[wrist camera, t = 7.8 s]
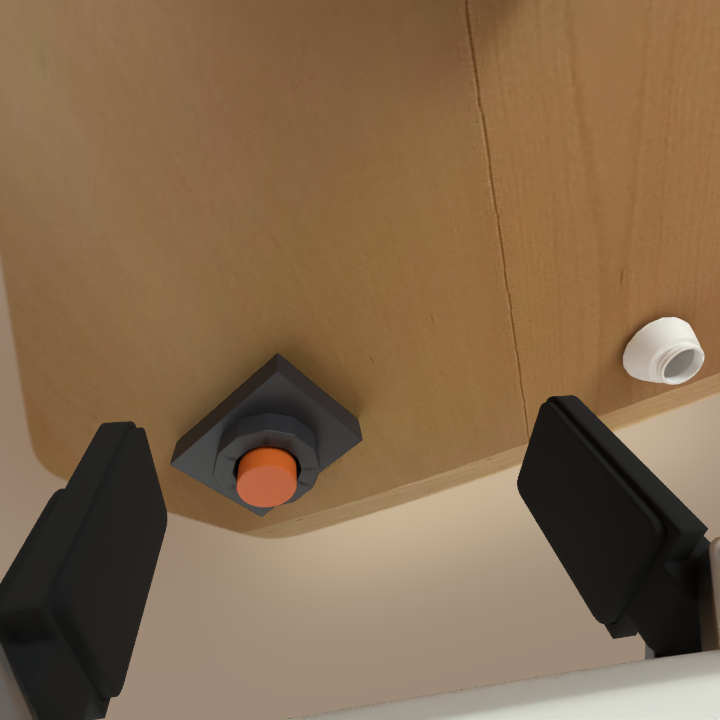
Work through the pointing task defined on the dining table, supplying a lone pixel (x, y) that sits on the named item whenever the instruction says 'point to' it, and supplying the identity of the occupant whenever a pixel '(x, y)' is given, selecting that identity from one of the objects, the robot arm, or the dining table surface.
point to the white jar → (664, 352)
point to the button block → (268, 431)
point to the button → (266, 476)
